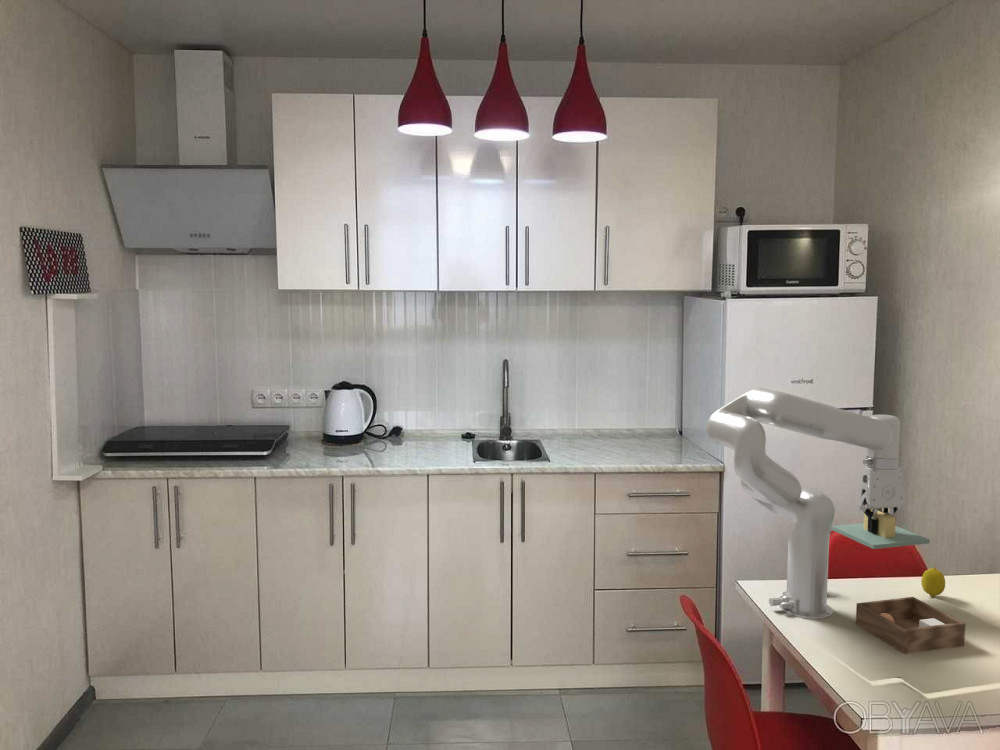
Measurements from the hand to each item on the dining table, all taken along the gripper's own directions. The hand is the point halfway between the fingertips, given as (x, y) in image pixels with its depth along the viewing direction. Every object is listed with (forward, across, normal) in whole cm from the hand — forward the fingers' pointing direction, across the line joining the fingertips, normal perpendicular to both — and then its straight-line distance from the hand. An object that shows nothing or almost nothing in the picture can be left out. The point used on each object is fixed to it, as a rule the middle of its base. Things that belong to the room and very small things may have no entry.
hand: (878, 531), depth 205 cm
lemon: (+19, +16, -2) cm, 25 cm away
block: (+18, -5, -24) cm, 31 cm away
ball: (+18, -12, -18) cm, 27 cm away
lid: (+1, 0, 0) cm, 1 cm away
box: (+18, -8, -21) cm, 29 cm away
